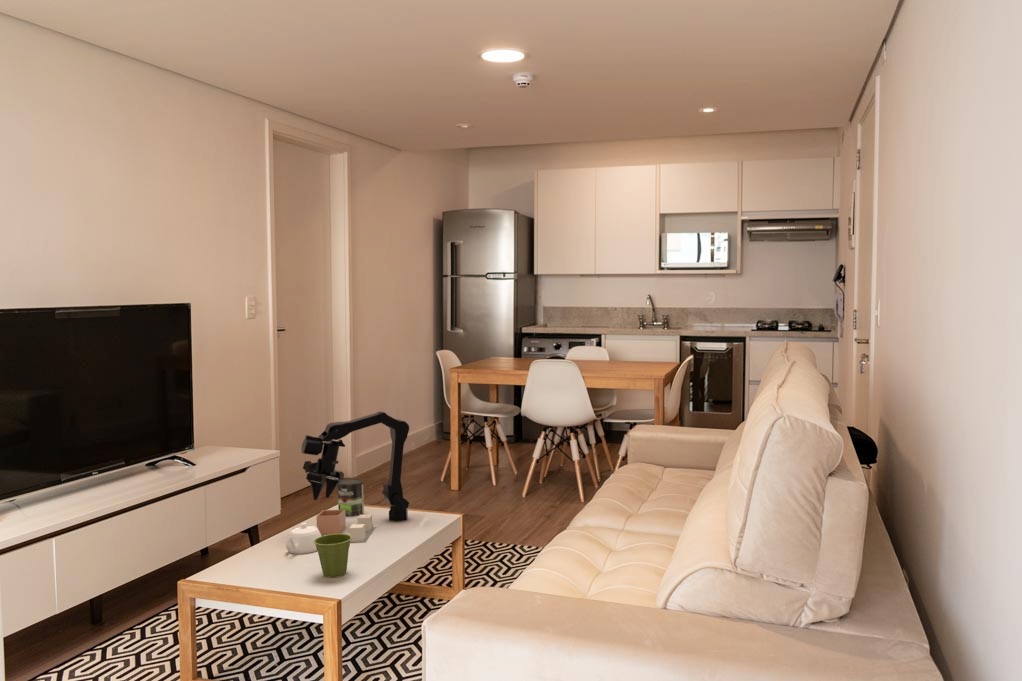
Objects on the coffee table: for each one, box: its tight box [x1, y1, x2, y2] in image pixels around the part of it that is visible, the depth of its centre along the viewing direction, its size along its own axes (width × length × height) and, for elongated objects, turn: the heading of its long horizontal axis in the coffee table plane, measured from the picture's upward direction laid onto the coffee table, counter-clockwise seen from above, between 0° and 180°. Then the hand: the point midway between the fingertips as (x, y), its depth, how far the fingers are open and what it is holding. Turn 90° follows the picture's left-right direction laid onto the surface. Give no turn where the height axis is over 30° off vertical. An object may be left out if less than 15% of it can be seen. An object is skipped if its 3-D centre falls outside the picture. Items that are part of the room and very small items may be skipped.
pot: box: [316, 509, 347, 536], centre depth 295 cm, size 8×8×8 cm
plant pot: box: [313, 533, 352, 578], centre depth 251 cm, size 12×12×11 cm
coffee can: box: [337, 478, 365, 518], centre depth 320 cm, size 10×10×14 cm
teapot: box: [285, 522, 322, 555], centre depth 275 cm, size 20×12×10 cm, turn 168°
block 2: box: [356, 513, 374, 531], centre depth 296 cm, size 4×4×5 cm
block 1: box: [348, 523, 365, 542], centre depth 283 cm, size 4×4×5 cm
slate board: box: [350, 526, 377, 544], centre depth 290 cm, size 7×20×1 cm, turn 179°
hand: (321, 498), depth 295 cm, fingers open, 9 cm apart
